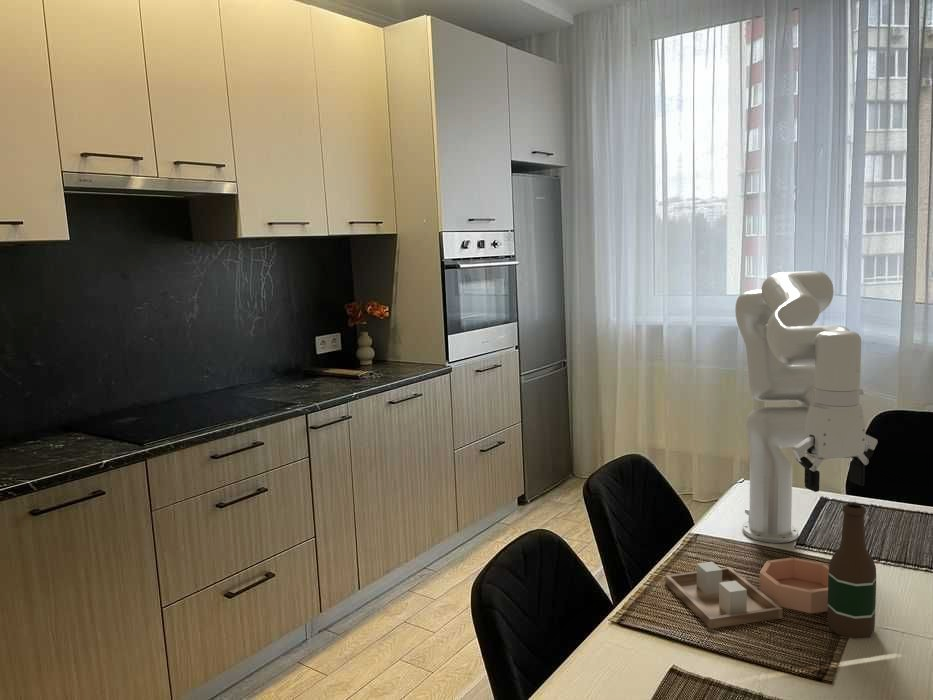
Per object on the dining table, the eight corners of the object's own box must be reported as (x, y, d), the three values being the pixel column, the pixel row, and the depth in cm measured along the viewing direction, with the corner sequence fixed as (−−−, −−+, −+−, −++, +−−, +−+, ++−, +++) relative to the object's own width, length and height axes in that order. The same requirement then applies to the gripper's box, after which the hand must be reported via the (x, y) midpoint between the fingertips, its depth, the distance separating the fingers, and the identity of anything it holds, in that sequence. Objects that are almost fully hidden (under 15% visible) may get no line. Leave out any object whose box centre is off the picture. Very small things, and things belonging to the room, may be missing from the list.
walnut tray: (665, 586, 152) (665, 575, 152) (729, 577, 155) (729, 566, 155) (710, 631, 134) (710, 619, 134) (782, 620, 137) (782, 608, 136)
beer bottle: (870, 623, 134) (874, 499, 131) (879, 645, 127) (883, 515, 124) (824, 617, 137) (826, 496, 134) (830, 639, 130) (833, 511, 126)
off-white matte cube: (696, 586, 150) (696, 563, 150) (712, 584, 151) (712, 561, 150) (706, 595, 147) (706, 571, 146) (722, 592, 147) (722, 569, 146)
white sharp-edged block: (719, 606, 142) (719, 582, 141) (735, 604, 142) (735, 580, 142) (729, 616, 138) (729, 592, 137) (746, 614, 138) (746, 589, 138)
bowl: (747, 584, 151) (747, 563, 151) (810, 576, 154) (810, 555, 153) (790, 619, 137) (790, 595, 136) (858, 609, 139) (859, 585, 139)
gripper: (861, 389, 138) (859, 475, 141) (782, 397, 135) (781, 485, 137) (892, 397, 131) (889, 487, 133) (809, 405, 127) (807, 498, 130)
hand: (834, 486), depth 135 cm, fingers open, 9 cm apart
